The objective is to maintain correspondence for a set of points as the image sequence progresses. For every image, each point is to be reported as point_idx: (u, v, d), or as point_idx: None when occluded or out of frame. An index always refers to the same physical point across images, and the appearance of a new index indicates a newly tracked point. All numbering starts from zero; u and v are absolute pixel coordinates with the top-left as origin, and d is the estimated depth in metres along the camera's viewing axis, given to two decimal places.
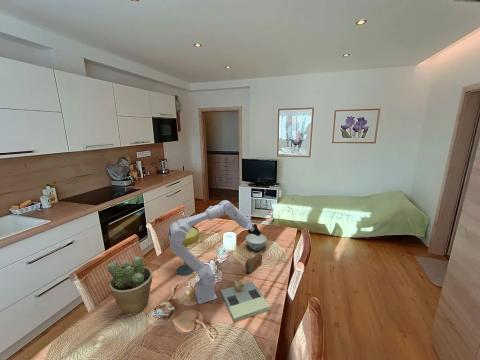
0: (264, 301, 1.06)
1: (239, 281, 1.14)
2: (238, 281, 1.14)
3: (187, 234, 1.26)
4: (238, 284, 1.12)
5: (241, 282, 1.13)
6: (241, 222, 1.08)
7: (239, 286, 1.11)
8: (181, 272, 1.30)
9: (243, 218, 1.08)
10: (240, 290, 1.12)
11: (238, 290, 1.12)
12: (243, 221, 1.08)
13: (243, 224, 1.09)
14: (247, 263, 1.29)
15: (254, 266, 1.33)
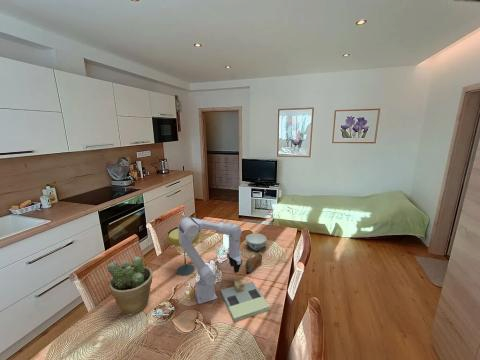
0: (264, 301, 1.06)
1: (239, 281, 1.14)
2: (238, 281, 1.14)
3: None
4: (238, 284, 1.12)
5: (241, 282, 1.13)
6: (234, 251, 1.13)
7: (239, 286, 1.11)
8: (181, 272, 1.30)
9: (237, 249, 1.14)
10: (240, 290, 1.12)
11: (238, 290, 1.12)
12: (236, 251, 1.14)
13: (233, 254, 1.14)
14: (247, 263, 1.29)
15: (254, 266, 1.33)
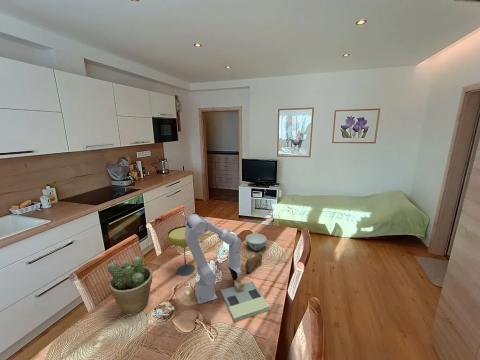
0: (264, 301, 1.06)
1: (239, 281, 1.14)
2: (238, 281, 1.14)
3: None
4: (238, 284, 1.12)
5: (241, 282, 1.13)
6: (234, 262, 1.15)
7: (239, 286, 1.11)
8: (181, 272, 1.30)
9: (238, 260, 1.15)
10: (240, 290, 1.12)
11: (238, 290, 1.12)
12: (236, 262, 1.15)
13: (233, 265, 1.15)
14: (247, 263, 1.29)
15: (254, 266, 1.33)
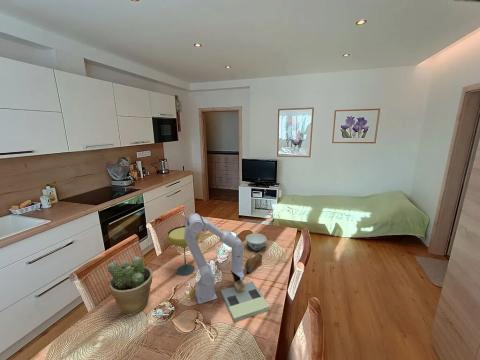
0: (264, 301, 1.06)
1: (239, 281, 1.14)
2: (238, 281, 1.14)
3: None
4: (238, 284, 1.11)
5: (241, 282, 1.13)
6: (236, 266, 1.11)
7: (239, 286, 1.11)
8: (181, 272, 1.30)
9: (240, 264, 1.12)
10: (240, 290, 1.12)
11: (238, 290, 1.11)
12: (238, 266, 1.11)
13: (236, 269, 1.12)
14: (247, 263, 1.29)
15: (254, 266, 1.33)
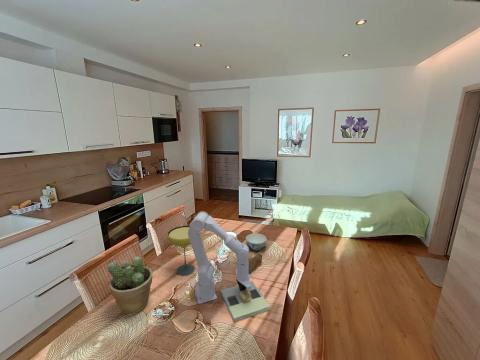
0: (264, 301, 1.06)
1: (245, 291, 1.07)
2: (244, 291, 1.07)
3: (187, 234, 1.26)
4: (244, 294, 1.05)
5: (247, 292, 1.06)
6: (242, 275, 1.04)
7: (245, 296, 1.04)
8: (181, 272, 1.30)
9: (246, 272, 1.05)
10: (246, 301, 1.05)
11: (244, 301, 1.05)
12: (244, 275, 1.05)
13: (242, 278, 1.05)
14: None
15: (254, 266, 1.33)
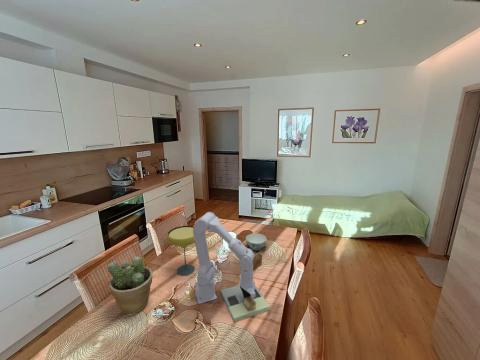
0: (264, 301, 1.06)
1: (249, 298, 1.02)
2: (248, 298, 1.02)
3: (187, 234, 1.26)
4: (249, 302, 1.00)
5: (252, 299, 1.02)
6: (247, 281, 1.00)
7: (250, 304, 1.00)
8: (181, 272, 1.30)
9: (251, 279, 1.00)
10: (251, 308, 1.00)
11: (249, 309, 1.00)
12: (249, 282, 1.00)
13: (246, 284, 1.00)
14: None
15: (254, 266, 1.33)
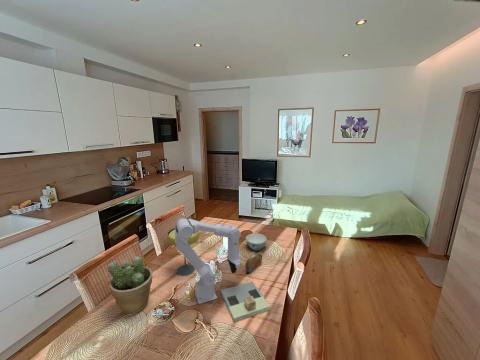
0: (264, 301, 1.06)
1: (249, 298, 1.02)
2: (248, 298, 1.02)
3: None
4: (249, 302, 1.00)
5: (252, 299, 1.02)
6: (233, 254, 1.11)
7: (250, 304, 1.00)
8: (181, 272, 1.30)
9: (237, 252, 1.11)
10: (251, 308, 1.00)
11: (249, 309, 1.00)
12: (235, 254, 1.11)
13: (232, 257, 1.11)
14: (247, 263, 1.29)
15: (254, 266, 1.33)
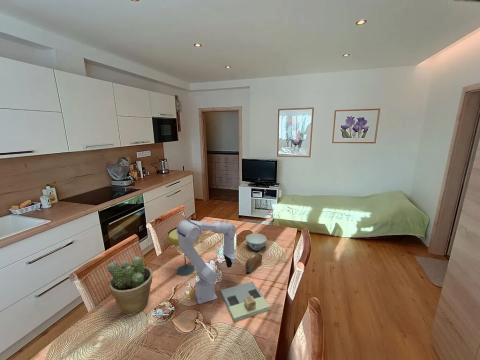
0: (264, 301, 1.06)
1: (249, 298, 1.02)
2: (248, 298, 1.02)
3: None
4: (249, 302, 1.00)
5: (252, 299, 1.02)
6: (228, 249, 1.15)
7: (250, 304, 1.00)
8: (181, 272, 1.30)
9: (232, 247, 1.16)
10: (251, 308, 1.00)
11: (249, 309, 1.00)
12: (230, 249, 1.16)
13: (228, 251, 1.16)
14: (247, 263, 1.29)
15: (254, 266, 1.33)
